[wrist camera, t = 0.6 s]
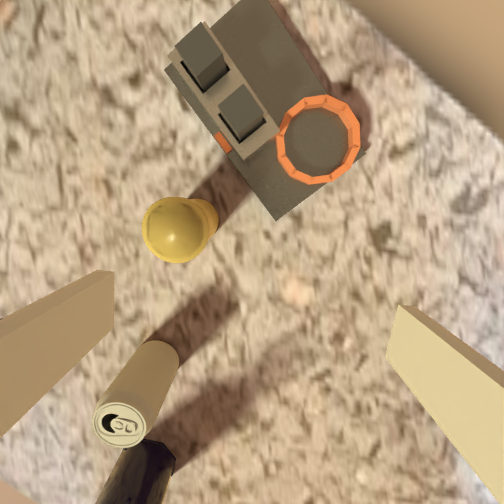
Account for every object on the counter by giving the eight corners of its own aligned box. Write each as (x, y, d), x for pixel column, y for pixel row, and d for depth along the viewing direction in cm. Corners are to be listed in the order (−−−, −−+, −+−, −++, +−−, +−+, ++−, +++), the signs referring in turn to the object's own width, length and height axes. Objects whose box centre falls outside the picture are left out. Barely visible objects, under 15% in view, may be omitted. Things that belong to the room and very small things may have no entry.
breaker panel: (168, 75, 32) (152, 54, 27) (257, -6, 30) (257, -44, 25) (274, 219, 35) (277, 224, 30) (361, 155, 33) (379, 149, 28)
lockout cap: (163, 215, 35) (128, 224, 26) (200, 185, 34) (178, 182, 25) (194, 252, 36) (171, 275, 27) (231, 224, 35) (221, 237, 26)
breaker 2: (223, 118, 29) (217, 105, 25) (245, 99, 29) (243, 83, 24) (240, 142, 30) (237, 133, 25) (262, 124, 29) (263, 112, 25)
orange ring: (260, 135, 32) (260, 132, 30) (326, 82, 30) (329, 76, 29) (305, 199, 33) (308, 199, 32) (370, 151, 32) (375, 149, 30)
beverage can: (141, 332, 39) (91, 393, 27) (185, 343, 39) (154, 408, 27) (133, 370, 40) (83, 444, 29) (176, 381, 40) (143, 458, 29)
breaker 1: (187, 68, 28) (174, 46, 24) (209, 48, 28) (200, 21, 23) (205, 94, 29) (196, 76, 24) (227, 74, 28) (222, 53, 24)
